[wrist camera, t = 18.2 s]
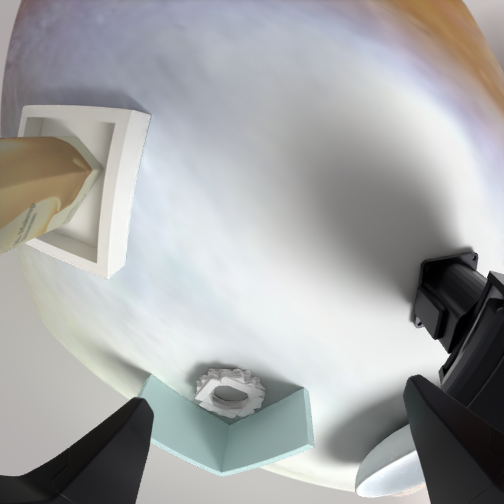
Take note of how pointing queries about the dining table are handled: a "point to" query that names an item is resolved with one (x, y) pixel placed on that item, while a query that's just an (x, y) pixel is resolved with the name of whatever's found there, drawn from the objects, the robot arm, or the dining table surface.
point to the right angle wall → (220, 433)
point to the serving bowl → (390, 466)
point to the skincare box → (41, 185)
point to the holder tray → (104, 189)
